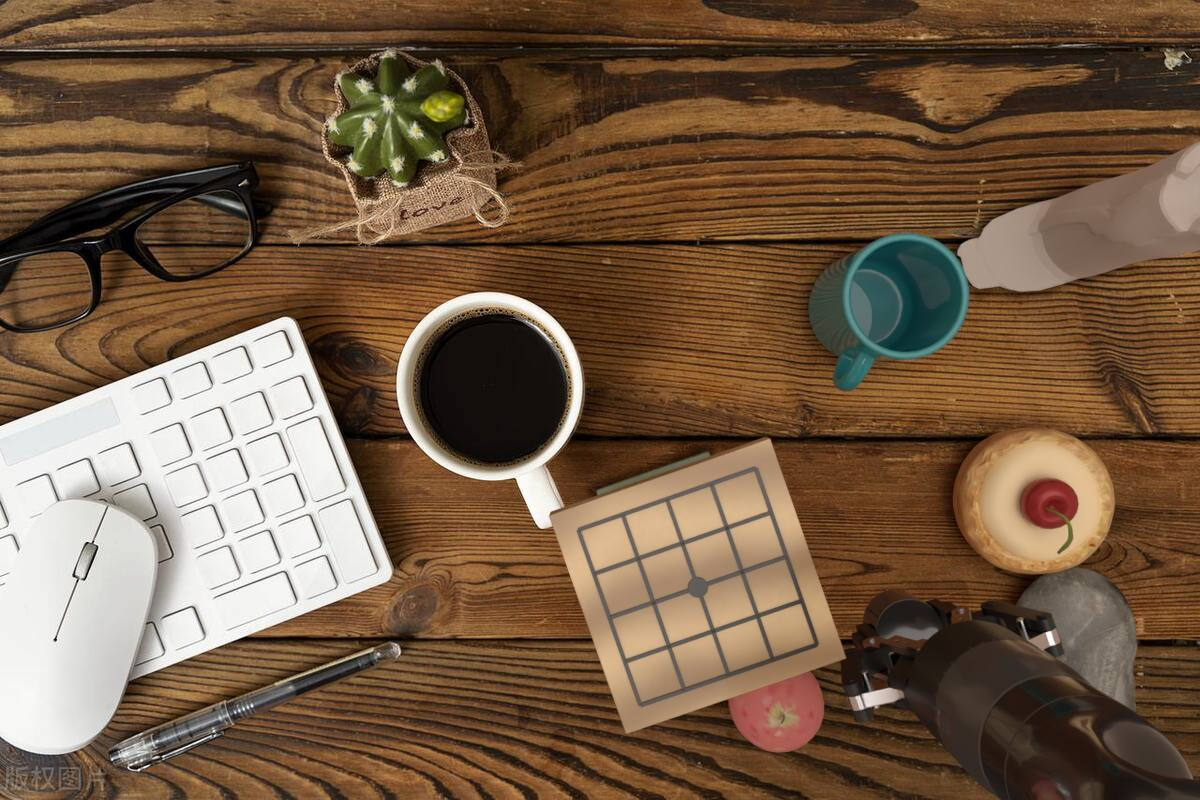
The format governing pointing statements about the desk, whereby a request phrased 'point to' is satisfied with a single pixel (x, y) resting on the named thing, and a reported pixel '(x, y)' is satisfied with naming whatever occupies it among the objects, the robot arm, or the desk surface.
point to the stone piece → (901, 616)
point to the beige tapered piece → (1092, 229)
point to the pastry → (1033, 500)
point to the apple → (780, 713)
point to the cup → (888, 304)
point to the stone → (1090, 627)
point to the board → (696, 583)
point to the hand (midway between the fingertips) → (899, 624)
